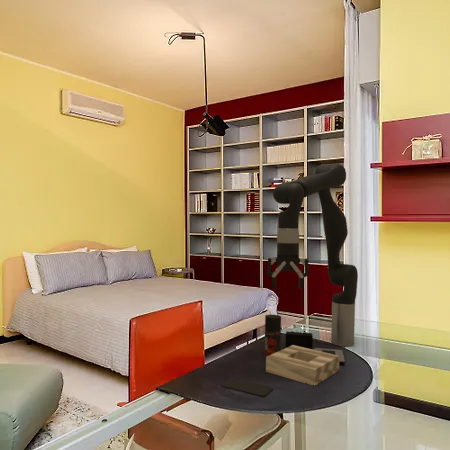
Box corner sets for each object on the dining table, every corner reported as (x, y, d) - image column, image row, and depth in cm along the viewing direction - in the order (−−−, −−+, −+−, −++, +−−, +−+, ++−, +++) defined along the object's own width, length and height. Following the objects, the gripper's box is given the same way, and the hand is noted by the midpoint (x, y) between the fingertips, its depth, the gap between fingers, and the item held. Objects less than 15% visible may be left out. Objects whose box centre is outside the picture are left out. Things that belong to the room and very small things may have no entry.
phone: (231, 377, 133) (274, 387, 125) (231, 379, 133) (274, 389, 125) (219, 385, 126) (264, 396, 119) (219, 387, 127) (264, 398, 119)
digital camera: (312, 349, 165) (312, 332, 165) (312, 354, 159) (313, 335, 159) (285, 347, 167) (286, 330, 166) (285, 351, 161) (285, 334, 161)
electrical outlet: (344, 367, 147) (344, 360, 147) (314, 364, 149) (314, 357, 149) (341, 355, 160) (342, 349, 159) (313, 353, 162) (314, 347, 162)
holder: (292, 358, 153) (293, 345, 153) (338, 370, 142) (339, 355, 142) (265, 371, 139) (266, 356, 139) (314, 386, 128) (315, 369, 128)
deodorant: (283, 356, 156) (284, 316, 155) (273, 360, 151) (274, 319, 151) (270, 352, 160) (271, 313, 160) (261, 356, 155) (261, 316, 155)
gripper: (308, 241, 146) (307, 287, 146) (267, 240, 148) (267, 286, 148) (309, 242, 138) (309, 291, 139) (266, 241, 140) (266, 289, 141)
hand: (287, 288), depth 143 cm, fingers open, 8 cm apart
